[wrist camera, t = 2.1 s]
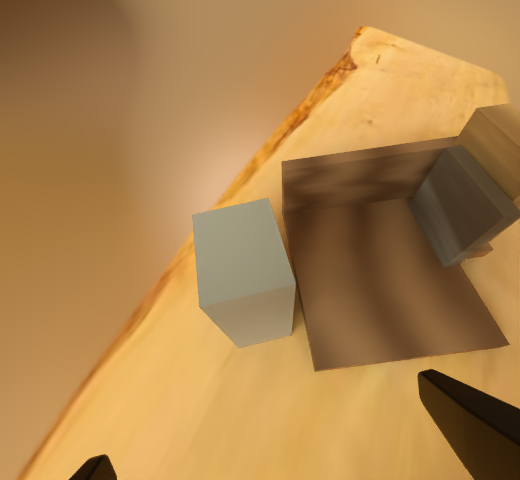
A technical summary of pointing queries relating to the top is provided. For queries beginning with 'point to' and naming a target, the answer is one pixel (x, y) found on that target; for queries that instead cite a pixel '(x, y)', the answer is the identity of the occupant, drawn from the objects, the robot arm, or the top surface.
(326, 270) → the wooden l-bracket
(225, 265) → the grey upright block
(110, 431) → the top surface
